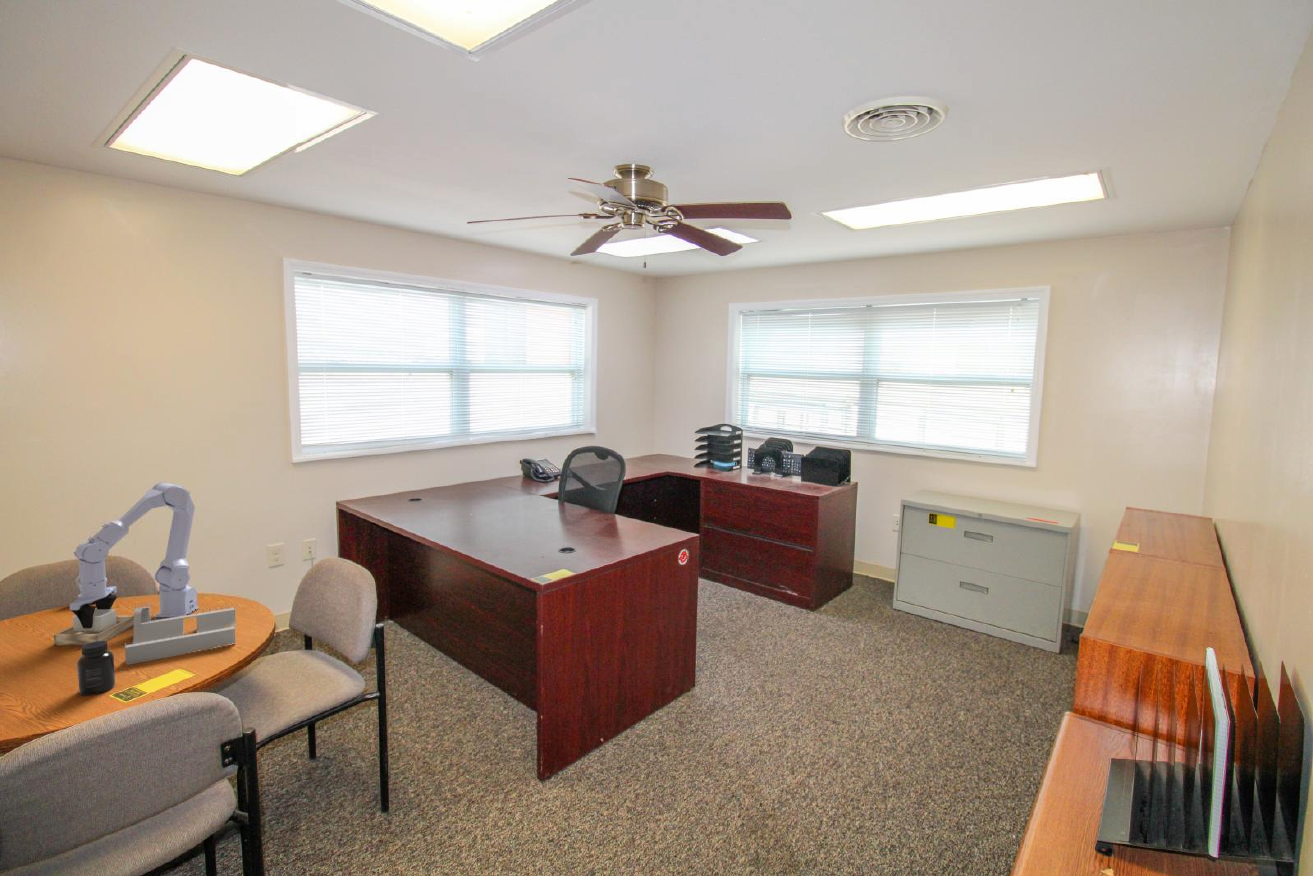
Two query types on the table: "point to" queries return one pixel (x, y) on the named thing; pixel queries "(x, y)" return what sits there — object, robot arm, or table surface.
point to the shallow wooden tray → (85, 637)
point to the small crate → (97, 621)
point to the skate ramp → (178, 634)
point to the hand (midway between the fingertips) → (95, 623)
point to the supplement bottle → (95, 669)
